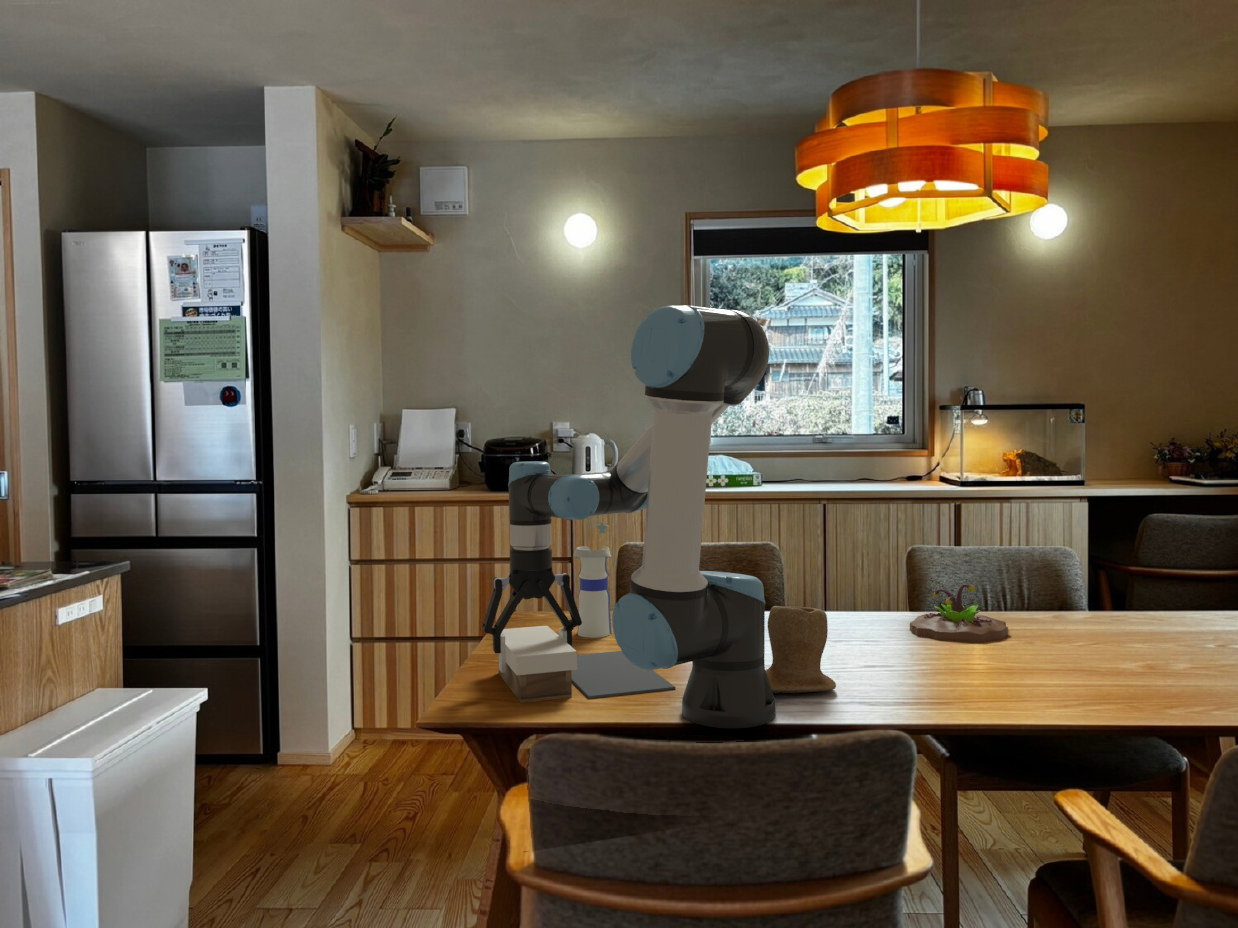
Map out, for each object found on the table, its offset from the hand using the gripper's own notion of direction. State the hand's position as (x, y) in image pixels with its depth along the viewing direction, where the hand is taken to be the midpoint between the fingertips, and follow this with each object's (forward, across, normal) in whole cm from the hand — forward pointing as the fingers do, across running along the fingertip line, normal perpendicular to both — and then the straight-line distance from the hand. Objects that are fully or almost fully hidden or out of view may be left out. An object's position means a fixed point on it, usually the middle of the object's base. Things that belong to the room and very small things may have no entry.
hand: (533, 667), depth 173 cm
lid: (-2, 0, 0) cm, 2 cm away
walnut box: (+3, 0, 0) cm, 3 cm away
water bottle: (+3, -22, -35) cm, 42 cm away
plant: (+4, -98, -7) cm, 98 cm away
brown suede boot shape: (+3, -42, +19) cm, 46 cm away
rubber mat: (+3, -15, -2) cm, 15 cm away
